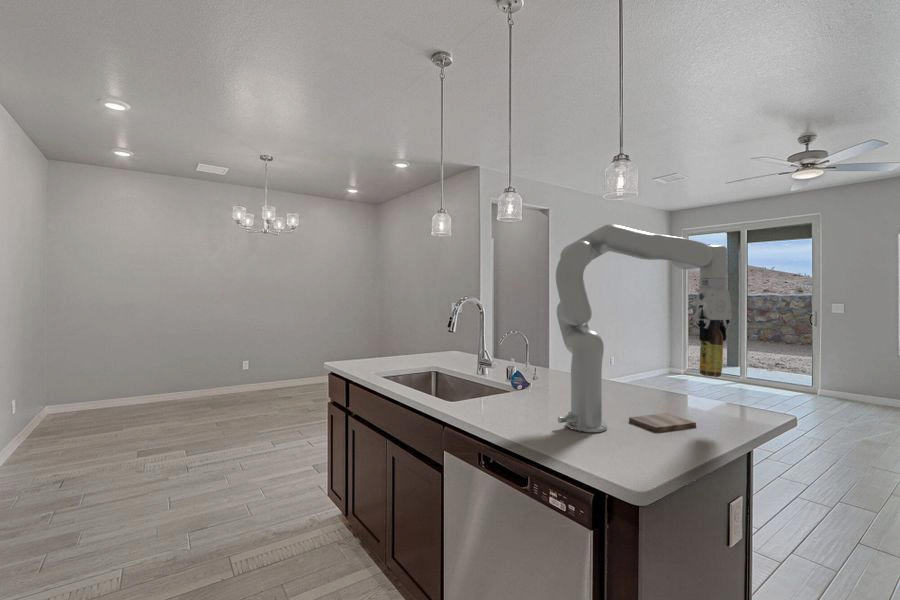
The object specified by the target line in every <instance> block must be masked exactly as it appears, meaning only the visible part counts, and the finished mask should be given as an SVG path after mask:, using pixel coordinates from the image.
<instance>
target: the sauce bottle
mask: <svg viewBox="0 0 900 600" xmlns="http://www.w3.org/2000/svg"><path fill="white" fill-rule="evenodd" d="M720 323H721V321H720V320H710V323H709V326H708V328H707V329H710V340H709V341H700V349H699V354H700V355H699V373H700V375H702V376H703V377H704V376H705V377H706V376H707V377H713V378H714V377H715V378H717V377H718V378H719V377H721V376H722V372H723V358H724V356H723V355H724V341H723V335H722V332H721V331H720V329H719V328H720V326H719V325H720Z"/></svg>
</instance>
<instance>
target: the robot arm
mask: <svg viewBox="0 0 900 600" xmlns="http://www.w3.org/2000/svg"><path fill="white" fill-rule="evenodd" d="M607 252H612V253H616V254H621V255H623V256H624V255H625V256H629V257H632V258H636V259H640V260H648V261H649V260H650V261H652V260H653V261H654V260H655V261H657V260H662V261H671V263H672V265H674V267H676V268H678V269H681V270H691V269H697V268H698V269H699V282H698V284H699V289H698V290H697V291H698V292H697V297H696V311H695V313H694V314H693V316H692V319H693V320H694V322H695V324H696V325H697V327H698V329H699V338H698V339H699V341H700V342H701V341H709V340H710V329H707V328H708V326H709V323H710V320H720V325H719V326H720V328H719V329H720V331H721V332H722V335H723V342H724V341H726V340H727V337H726V336H727V328H728V326H729V324H730V321H731V320H732V319H733V315H732V302H731V294H730V290H729V289H728V249H727V247H726V246H725V245H717V244H716V245H715V244H714V245H708V244H707V243H705V242H701V241H697V240H693V239H689V238H685V237H679V236H672V235H667V234H666V235H665V234H659V233H652V232H647V231H643V230H637V229H634V228H630V227H628V226H627V227H626V226H623V225H619V224H614V223H613V224H612V223H611V224H609V223H608V224H605V225H603V226H601V227H599V228H597V229H595V230H593V231H592V232H590V233H588V234H586V235H585V236H583V237H581V238H579V239H577V240H575V241H574V242H572V243H570V244H568V245H566V246H564V247H563V249H562V251H561V252H560V255H559V256H560V259H559V260H558V263H557V265H556V270H555V282H556V289H557V293H558V297H559V300H560V301H559V302H558V304H557V307H556V317H557V322H558V324H559V325H558V326H559V329H560V330H559V331H560V333H561V336H562V340H563V344H564V346H565V348H566V349H567V350H568V352H570V353H571V354H572V355H571V361H570V362H571V363H570V411H569V412H567V415H565V416H563V415H562V416H558V417H557V421H558V423H559V424H563V423H565V426H566V425H567V426H568V427H570V428H573V429H575V430H574V431H576V430H579V431H578V432H581V431H584V432H583V433H601V432H604V431H607V429H608V425H607V423H606V422H604V421H603V405H602V403H603V394H602V393H603V390H602V389H603V385H602V384H603V383H602V381H603V379H602V377H603V375H602V373H603V372H602V370H603V369H602V368H603V359H604V348H605V347H604V346H605V345H604V341H603V339H602V337H601V336H600V334H599V333H597V332H596V331H594V330H592V329H590V328H589V322H590V320H591V319H592V313H593V312H592V307H591V304H590V302H589V301H590V300H589V296H588V295H587V290H586V286H585V282H584V274H585V273H584V272H585V270H586V267H587V266H588V265H589V264H590V263H591V262H592V261H594V260H595V259H597V258H599V257H600V256H602V255H604V254H606V253H607ZM567 426H566V427H567ZM568 427H567V428H568ZM570 428H569V429H570Z"/></svg>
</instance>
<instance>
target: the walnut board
mask: <svg viewBox="0 0 900 600" xmlns="http://www.w3.org/2000/svg"><path fill="white" fill-rule="evenodd" d="M628 421H629V423H631V424H633V423H634V424H633V425H636V426H638V425H639V426H638V427H641V428H643V429H647V430H649V431H652V432H654V433H661V432H670V431H678V430H685V429H691V428H692V429H693V428H697V422H696V421H694V420H689V419H686V418H683V417H681V416H677V415H674V414H671V413H667V412H665V413H657V414H655V413H654V414H648V415H641V416H640V415H638V416H630V417H628Z"/></svg>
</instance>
